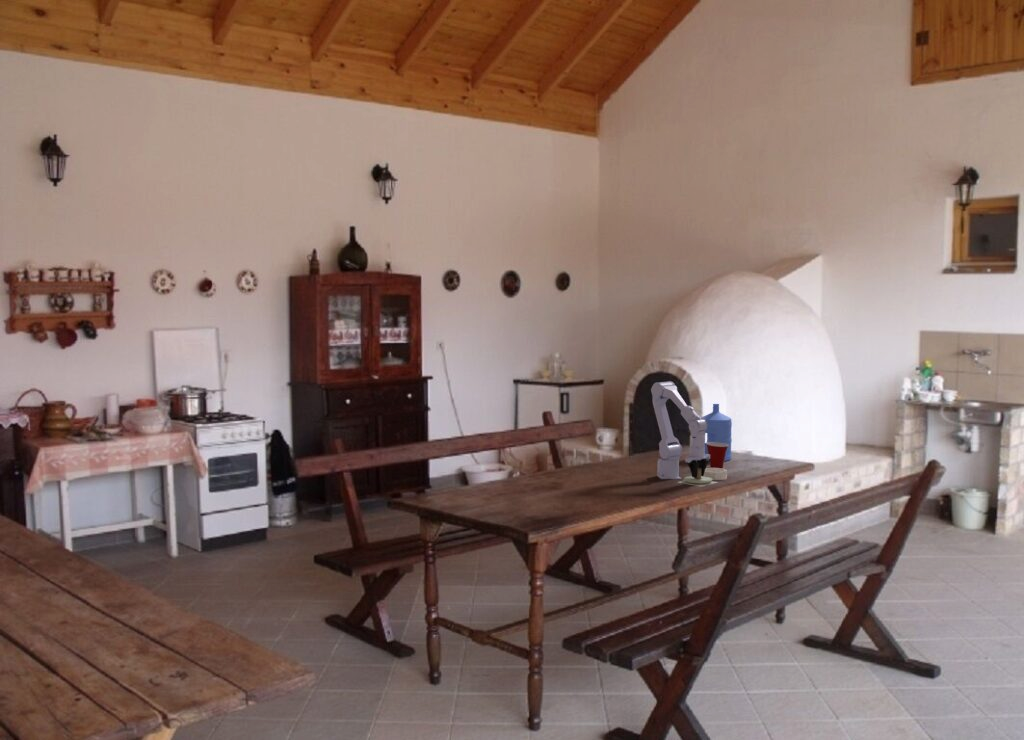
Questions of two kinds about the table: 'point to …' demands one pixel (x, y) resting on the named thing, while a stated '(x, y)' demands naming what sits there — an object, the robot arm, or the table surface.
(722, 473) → the white low cylinder
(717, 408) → the water jug
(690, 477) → the lid
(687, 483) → the mat
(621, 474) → the table surface
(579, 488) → the table surface
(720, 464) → the plastic cup
